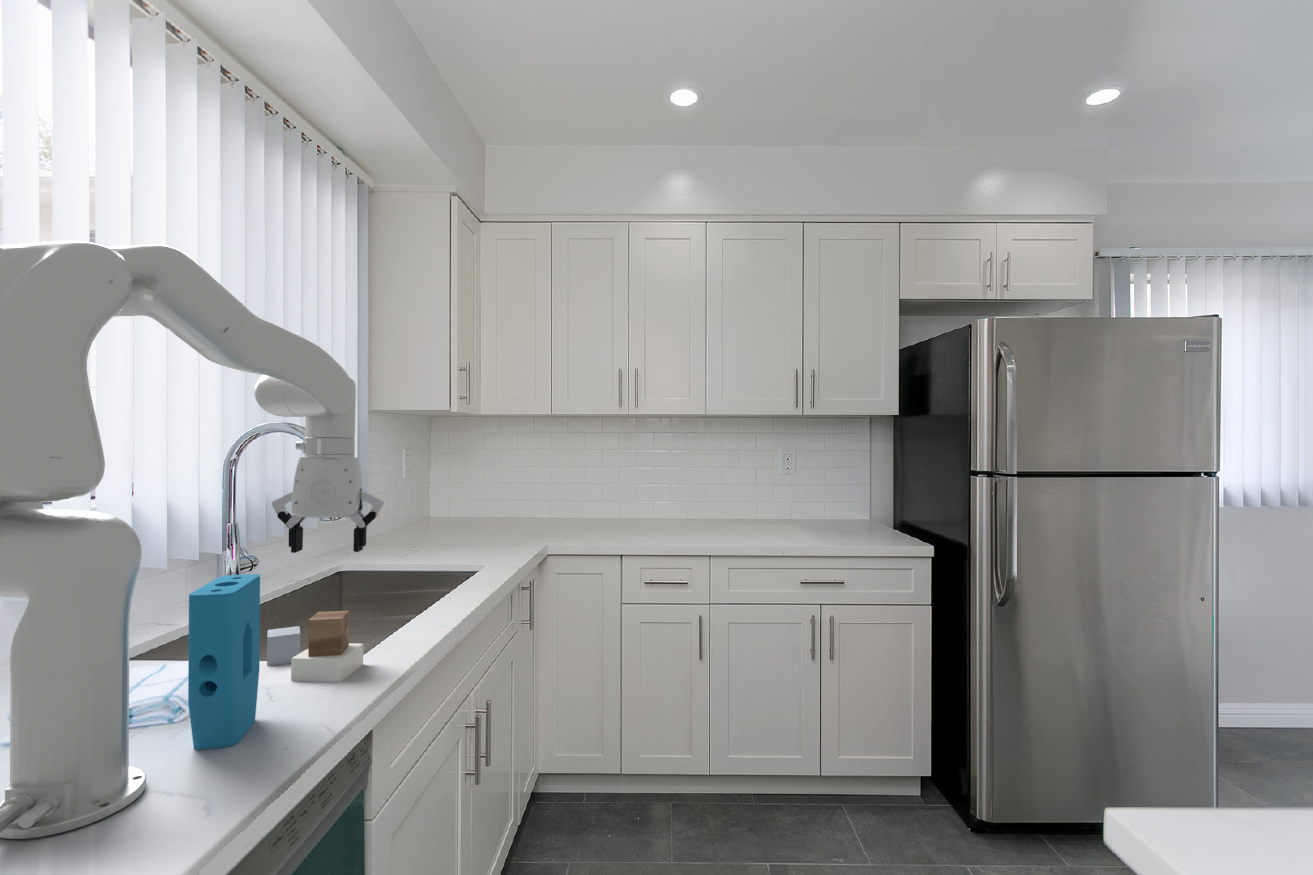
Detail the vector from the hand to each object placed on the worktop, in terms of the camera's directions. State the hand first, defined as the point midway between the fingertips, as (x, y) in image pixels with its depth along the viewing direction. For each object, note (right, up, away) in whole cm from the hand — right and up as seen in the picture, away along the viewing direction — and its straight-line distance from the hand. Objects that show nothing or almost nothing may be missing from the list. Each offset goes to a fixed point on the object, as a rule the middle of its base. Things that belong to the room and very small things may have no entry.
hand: (327, 551), depth 110 cm
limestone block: (0, -21, +1) cm, 21 cm away
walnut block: (0, -17, 0) cm, 17 cm away
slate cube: (-11, -21, +7) cm, 24 cm away
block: (-2, -21, -22) cm, 30 cm away
